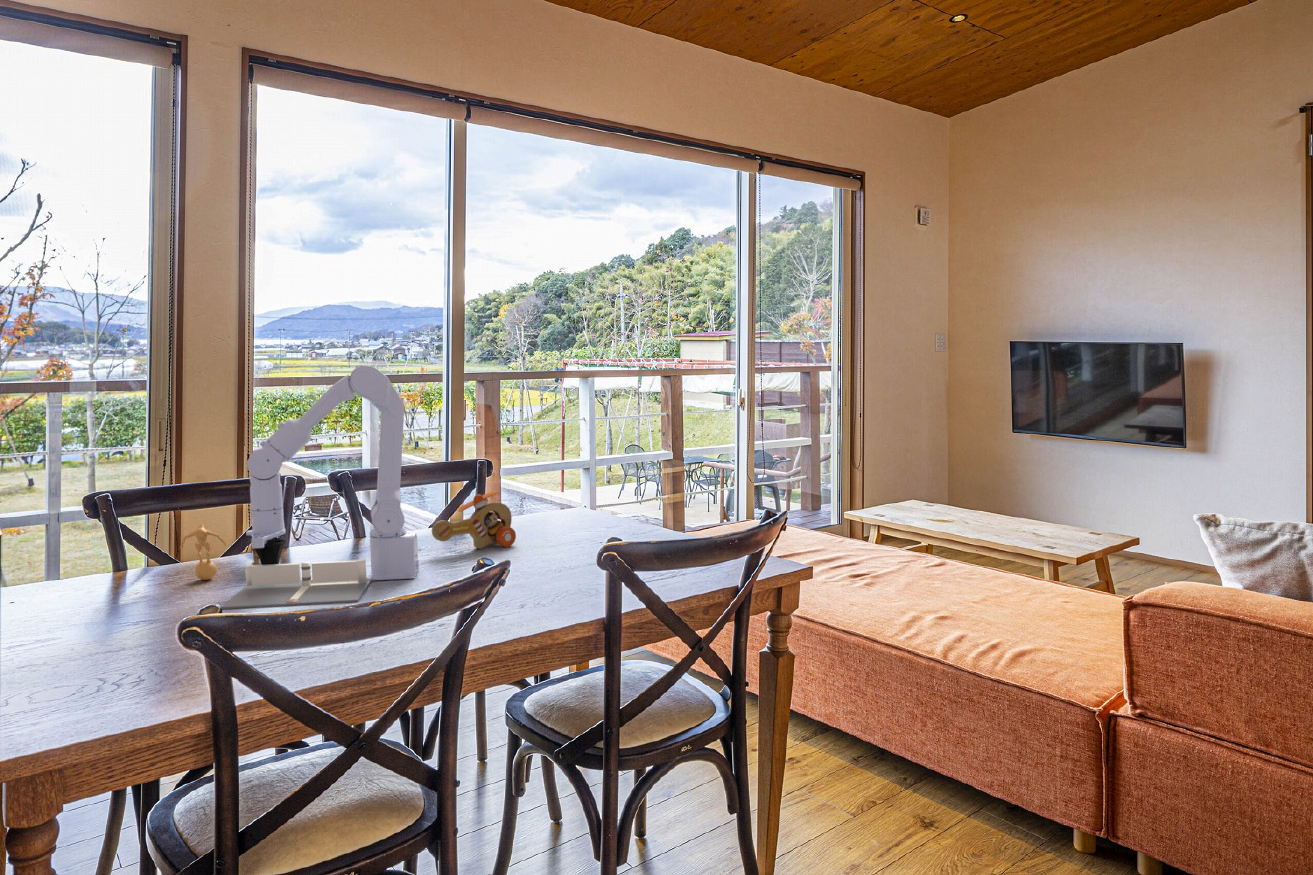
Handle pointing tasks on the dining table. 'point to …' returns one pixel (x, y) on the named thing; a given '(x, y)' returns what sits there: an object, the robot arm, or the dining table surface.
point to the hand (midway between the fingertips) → (271, 575)
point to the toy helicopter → (480, 523)
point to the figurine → (204, 568)
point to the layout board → (297, 594)
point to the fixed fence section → (334, 571)
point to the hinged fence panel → (272, 574)
